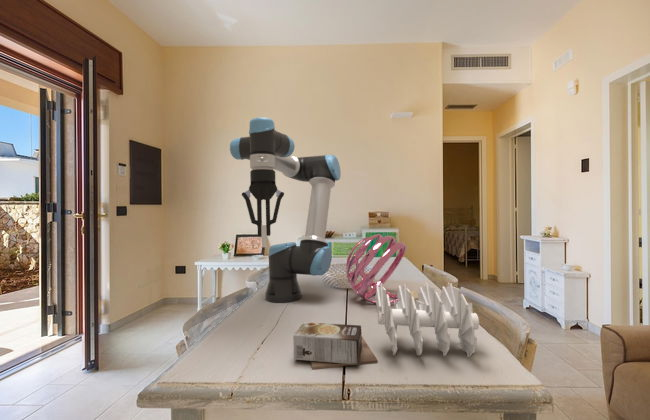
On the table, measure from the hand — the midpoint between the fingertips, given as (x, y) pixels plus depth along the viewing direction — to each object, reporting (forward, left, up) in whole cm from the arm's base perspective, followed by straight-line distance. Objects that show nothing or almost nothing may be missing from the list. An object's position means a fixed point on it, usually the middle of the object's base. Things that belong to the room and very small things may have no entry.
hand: (264, 246), depth 93 cm
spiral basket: (-25, +44, -27) cm, 57 cm away
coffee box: (+16, +9, -23) cm, 29 cm away
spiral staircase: (+21, +42, -27) cm, 54 cm away
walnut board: (+15, +20, -26) cm, 36 cm away
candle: (+1, +47, -27) cm, 54 cm away
